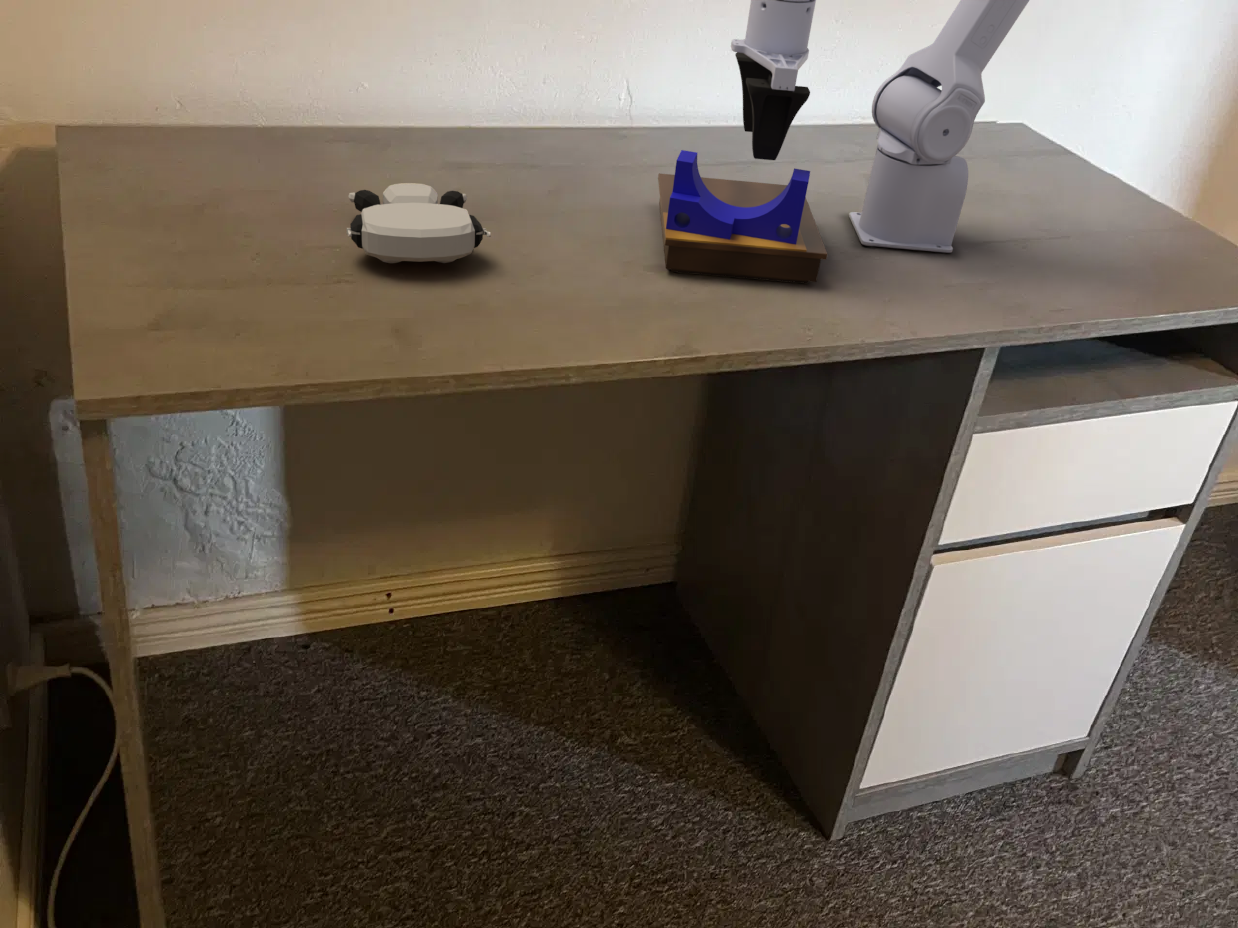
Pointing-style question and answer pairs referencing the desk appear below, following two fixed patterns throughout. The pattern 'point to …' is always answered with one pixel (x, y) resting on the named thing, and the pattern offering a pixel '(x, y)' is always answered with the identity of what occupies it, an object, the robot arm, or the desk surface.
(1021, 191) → the desk surface
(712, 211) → the cable clip
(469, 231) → the robot toy
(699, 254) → the walnut stand
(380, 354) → the desk surface
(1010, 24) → the robot arm
